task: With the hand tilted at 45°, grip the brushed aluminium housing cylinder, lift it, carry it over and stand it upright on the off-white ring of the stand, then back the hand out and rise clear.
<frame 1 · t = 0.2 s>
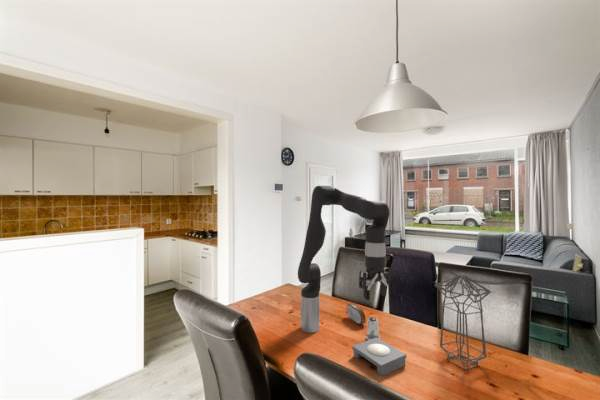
hand: (375, 297, 101), 29 cm above the table, tool pointing down, fingers open, 8 cm apart
geometric lantern: (463, 361, 109), on the table
tin: (355, 321, 148), on the table
stand: (378, 360, 110), on the table
housing: (373, 338, 128), on the table
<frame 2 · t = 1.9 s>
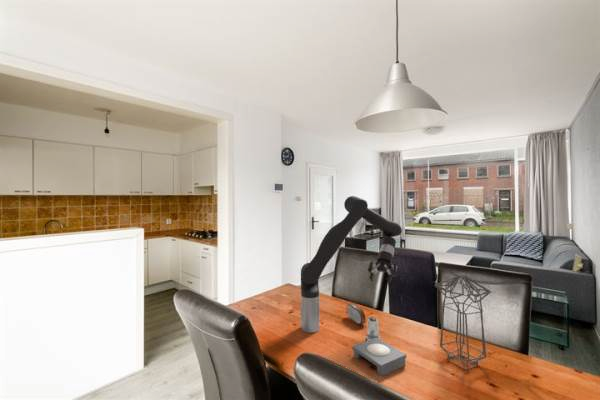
hand: (379, 281, 136), 25 cm above the table, tool tilted 45°, fingers open, 8 cm apart
nothing on the table moved.
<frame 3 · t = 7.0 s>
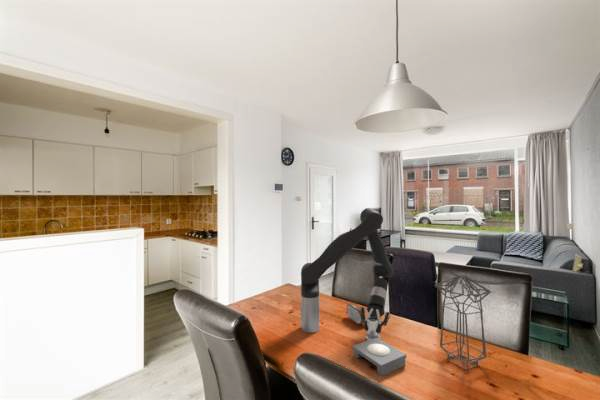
hand: (371, 331, 127), 4 cm above the table, tool tilted 45°, fingers closed on housing, 5 cm apart
housing: (373, 338, 128), on the table, touching gripper
everything else where it was.
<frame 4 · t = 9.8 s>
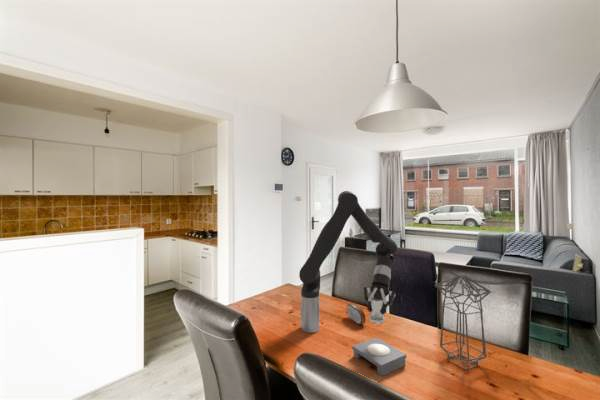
hand: (376, 312, 115), 18 cm above the table, tool tilted 45°, fingers closed on housing, 5 cm apart
housing: (377, 320, 116), point 14 cm above the table, touching gripper
everything else where it was.
when the fingers open (10 cm above the table, at t = 12.6 s): housing drops 1 cm, resting on stand.
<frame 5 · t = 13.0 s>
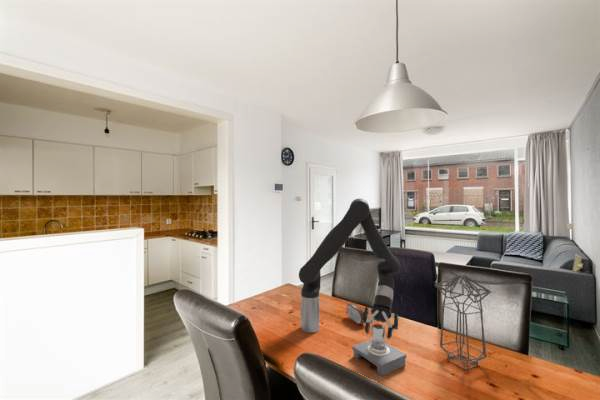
hand: (377, 335, 109), 11 cm above the table, tool tilted 45°, fingers open, 8 cm apart
housing: (378, 349, 111), point 4 cm above the table, touching stand
everything else where it was.
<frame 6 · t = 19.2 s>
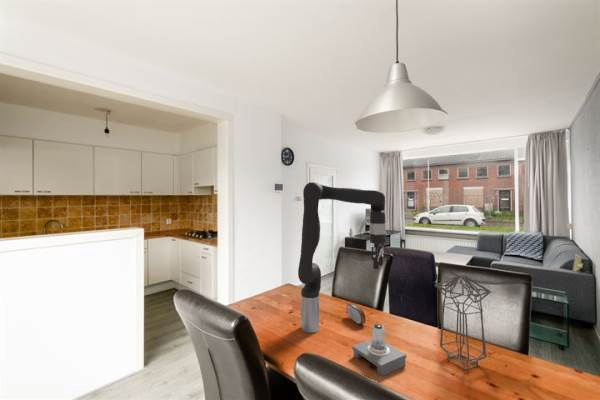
hand: (378, 267, 128), 34 cm above the table, tool pointing down, fingers open, 8 cm apart
nothing on the table moved.
at the end: housing inside the target area on the stand (0.1 cm from its centre), point 4.5 cm above the stand's base; housing tilted 0°; the gripper is holding nothing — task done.
